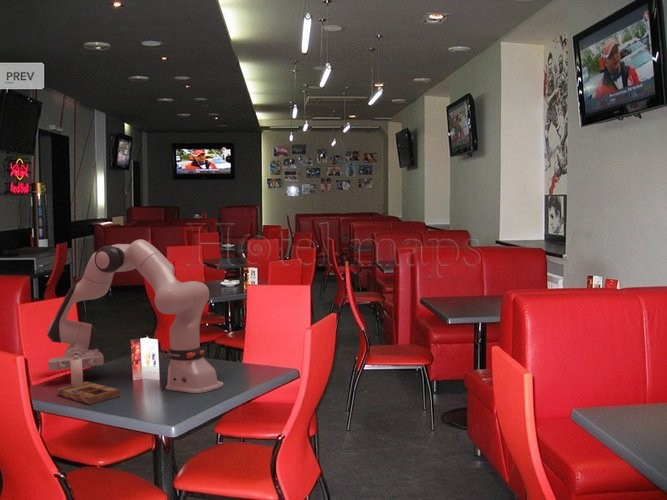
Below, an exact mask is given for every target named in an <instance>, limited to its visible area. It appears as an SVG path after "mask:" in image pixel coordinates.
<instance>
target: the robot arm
mask: <svg viewBox="0 0 667 500" xmlns="http://www.w3.org/2000/svg"><path fill="white" fill-rule="evenodd" d="M134 270H135V271H136V270H137V272H138V273H139V274H140V275H141V276H142V277H143V278H144V279H145V280H146V282H148V284H149V285H150V286H151V287H152V290H153V291H154V294H155V296H154V305H155V307H156V309H157V311H159V312H160V313H161V314H163V315H175V318H174V319H173V322H172V323H171V325H170V327H169V347H170V348H169V349H168V357H169V359H170V361H169V364H168V368H167V369H168V370H167V384H166V385H165V390H168V391H176V392H183V393H184V392H185V393H190V394H201V393H206V392H211V391H214V390H217V389H220V388H221V387H223V386H224V382H223V381H220V380H218V377H217V376H218V375H217V371H216V369H215V368H214V366H212V365H211V364H210V363H209V362H208V361H207V360H206V359H205V357H204V353H205V350H202V347H201V345H200V341H201V340H200V325H201V320H202V315H203V312H204V308H205V306H206V305H207V303H208V302H209V300H210V289H209V288H208V286H207V285H206V284H205V283H203V282H201V281H196V280H195V281H194V280H191V281H185V282H181V281H179V280H178V279H177V277H176V275H175V271H176V269H175V266H174V265H173V263H171V262H170V261H169V260H168V259H167V258H166V256H164V255H163V254H162V252H161V251H160V250H158V248H156V247H155V246H154V245H153V244H151V243H150V242H148V241H146V240H145V239H136V240H134V241H132V242H131V243H116V244H112V245H105V246H102V247H100V248H99V249H97V250H96V251H95V252H94V253H93V254H91V256H90V257H89V261H88V262H87V265H86V267H85V270H84V273H83V275H82V278H81V280H79V281H78V282H77V283H74V284H72V285H71V286H70V288H69V289H68V291H67V293H66V294H65V296H64V298H63V301H62V302H61V305H60V306H59V308H58V310H57V312H56V314H55V316H54V317H53V319H52V321H51V322H50V324H49V325H48V327H47V336H48V338H49V339H50V340H49V341H51V342H52V343H58V344H67V345H68V346H67V347H66V349H65V350H64V356H59V357H52V358H50V359H49V360H48V361H47V365H48V371H57V370H59V371H60V370H68V369H69V370H71V365H70V360H71V359H74V355H78V358H80V359H82V369H85V368H89V367H95V366H102V365H104V364H105V363H104V355H103V353H102V352H100V351H99V348H94V345H95V343H96V337H97V333H96V332H97V331H96V329H95V326H94V325H93V324H92V323H88V322H83V321H77V320H73V319H72V320H71V319H68V318H67V317H68V316H69V313H70V311H71V309H72V308H73V306H74V305H75V304H76V303H79V302H82V301H88V300H97V299H99V298H101V297H104V296H105V295H106V294H107V293H108V292H109V289H110V287H111V285H112V281H113V277H114V274H115V273H118V272H119V273H121V272H122V273H124V272H129V271H134Z"/></svg>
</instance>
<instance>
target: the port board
mask: <svg viewBox="0 0 667 500" xmlns="http://www.w3.org/2000/svg"><path fill="white" fill-rule="evenodd" d="M56 395H57V396H58V397H61V398H64V399H68V400H71V401H74V402H78V403H81V404H85V405H89V406H90V405H94V404H99V403H101V402H105V401H108V400H113V399H116V398H120V397H121V393H120V389H118V388H114V387H109V386H106V385H101V384H98V383H94V382H91V381H83V387H79V388H72V385H68V386H67V385H66V386H63V387H59V388H56Z"/></svg>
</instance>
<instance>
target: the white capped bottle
mask: <svg viewBox="0 0 667 500" xmlns="http://www.w3.org/2000/svg"><path fill="white" fill-rule="evenodd" d="M70 365H71V369H70V381H71V385H72V388H79V387H83V382H84V378H83V377H84V375H83V373H84V372H83V368H82V359H80V358H78V355H74V359H71V360H70ZM71 385H70V386H71Z"/></svg>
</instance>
